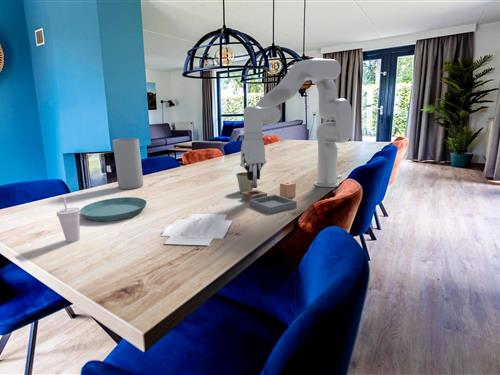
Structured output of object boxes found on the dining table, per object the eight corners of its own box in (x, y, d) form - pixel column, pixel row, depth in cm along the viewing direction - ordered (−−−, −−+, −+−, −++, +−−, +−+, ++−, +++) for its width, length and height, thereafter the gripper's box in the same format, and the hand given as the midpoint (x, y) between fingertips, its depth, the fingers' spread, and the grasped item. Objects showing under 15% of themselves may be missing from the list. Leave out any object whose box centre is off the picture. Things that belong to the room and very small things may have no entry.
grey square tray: (275, 199, 138) (275, 194, 138) (296, 207, 127) (296, 201, 127) (249, 205, 131) (249, 199, 130) (270, 213, 120) (269, 207, 119)
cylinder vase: (113, 188, 165) (107, 140, 159) (130, 183, 176) (125, 138, 170) (132, 190, 160) (126, 140, 154) (148, 184, 171) (143, 138, 165)
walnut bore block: (256, 195, 145) (256, 189, 144) (267, 199, 138) (267, 193, 138) (241, 198, 140) (241, 192, 140) (252, 203, 134) (252, 196, 133)
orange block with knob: (288, 194, 147) (288, 181, 146) (295, 196, 143) (295, 183, 141) (279, 196, 144) (279, 183, 143) (287, 198, 140) (287, 184, 139)
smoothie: (67, 236, 102) (60, 194, 98) (87, 235, 102) (81, 193, 99) (57, 244, 96) (49, 200, 92) (79, 243, 96) (72, 199, 93)
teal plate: (85, 208, 132) (84, 201, 131) (145, 201, 140) (145, 194, 139) (76, 228, 110) (75, 219, 109) (149, 218, 118) (148, 210, 117)
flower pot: (253, 194, 148) (253, 176, 146) (234, 193, 150) (233, 175, 148) (257, 189, 157) (257, 172, 155) (238, 188, 159) (238, 171, 157)
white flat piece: (235, 217, 119) (235, 207, 118) (220, 252, 92) (219, 240, 91) (183, 216, 121) (182, 206, 120) (153, 249, 95) (151, 238, 94)
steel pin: (254, 186, 140) (254, 159, 137) (258, 187, 138) (258, 160, 135) (249, 187, 138) (248, 160, 136) (252, 188, 136) (252, 160, 133)
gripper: (263, 135, 140) (263, 175, 145) (231, 137, 131) (233, 180, 136) (274, 136, 134) (273, 178, 139) (241, 138, 125) (242, 183, 130)
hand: (253, 179), depth 137 cm, fingers closed on steel pin, 3 cm apart
